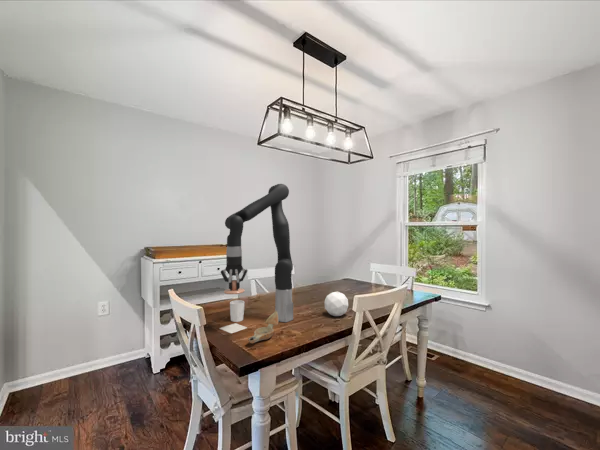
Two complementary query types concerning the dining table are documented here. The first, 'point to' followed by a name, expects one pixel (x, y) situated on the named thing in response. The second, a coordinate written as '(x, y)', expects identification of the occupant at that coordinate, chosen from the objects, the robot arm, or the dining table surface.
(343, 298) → the geodesic sphere
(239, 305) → the white cup
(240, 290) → the lid
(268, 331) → the oil lamp
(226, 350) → the dining table surface
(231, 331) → the mat
